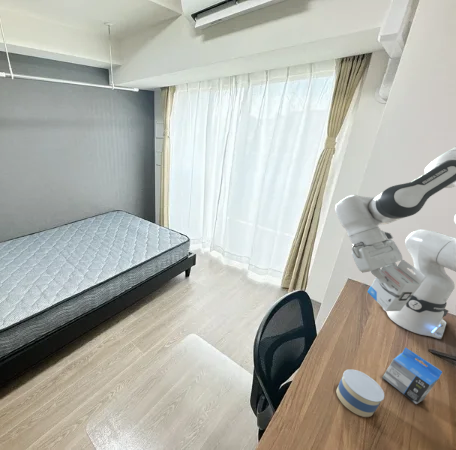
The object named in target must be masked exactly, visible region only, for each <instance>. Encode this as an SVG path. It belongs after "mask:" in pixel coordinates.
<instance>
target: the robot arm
mask: <svg viewBox="0 0 456 450" xmlns="http://www.w3.org/2000/svg"><path fill="white" fill-rule="evenodd" d="M454 187H456V146H454V147H453V148H450V149H449V150H447V151H445V152H444V153H442V154H440V155H439V156H437V157H436V158H434V159H433V160H432V161H431V162H430V163H428V164H427V165H426V167H425V168H424V173H423V174H422V175H420V176H419V177H417V178H415V179H413V180H412V181H410V182H405V183H400V184H396V185H392V186H390V187H388V188H386V189H384V190H383V191H382V192H381V193H380V194H378V195H376V196H362V195H358V194H351V195H348V196H346V197H345V198H343V199H341V200H340V201H338V203H336V204H335V207H334V211H335V214H336V217H337V219H338V221H339V223H340V224H341V226H342V228H343V229H345V231H346V233H347V237H348V239H349V240H350V243H351V245H352V247H351V256H352V258H353V261H354V263H355V265H356V267H357V269H358V270H359V272H361V273H362V274H363V273H369V272H370V273H371V274H372V275H373V276H374V277H375V279H376V278H378V280H379V282H380V283H386V282H388V281H389V280H388V279H387V277H386V276H384V275H383V274H382V273H381V269H382V267H384V266H398V264H397V263H398V262H401V260H403V255H402V252H401V250H400V248H399V246H398V245H397V243H396V242H395V240H393V239H394V237H393V235H392V233H390V232H387V231H384V230H383V229H382V230H381V228H380V226H383V225H389V224H391V223H394V222H397V221H399V220H401V219H405V218H408V217H411V216H414V215H416V214H418V213H419V212H420V211H421V210H422V209H423V207H424V206H425V204H426V202H427V201H428V200H429V199H430V198H431V197H432V196H434V195H435V194H437V193H438V192H440V191H442V190H443V189H452V188H454ZM453 222H454V223H455V225H456V214H455V215H454V217H453ZM404 246H405V249H406V250H407V252H408V253H409V254H410V256H411V259H412V262H413V263H412V264H413V267H414V268H415V269H417V270H418V271H419V272H421V273H422V274H424V275H425V276H426V277H425V279H424V280H423V281H422V283H421V284H420V287H419V288H418V289H417V290H416V292H415V293H414V294H413V295H412V297H411V298H410V299H409V301H408V302H407V303H406V304H405V306H404V307H403V308H402V309H401V311H386V310H385V309H384V308H383V307H382V310H383V311H384V312H385V313H386V314H387V317H388V318H389V319H390V320H391V321H392V322H393V323H395V324H396V325H398V326H399V327H401V328H402V329H404V330H407V331H409V332H412V333H414V334H416V335H420V336H426V337H427V336H428V337H431V338H435V339H438V340H442V338H443V336H444V333H445V330H446V326H447V321H446V320H444V317H446V316H447V315H448V313H449V310H448V309H446V307H447V301H448V300H449V298H450V296H451V295H452V294H453V292H454V290H455V282H454V280H453V279H452V278H451V277H450V276H449V275H448V273H447V272H446V270H445V268H446V269H448V270H451V271H453V272H456V237H453V236H450V235H448V234H444V233H442V232H438V231H433V230H428V229H417V230H414V231H412V232H410V233H409V234H408V235H407V236H406V237H405V240H404ZM412 273H413V274H415V272H413V271H412Z"/></svg>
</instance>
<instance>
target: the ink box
mask: <svg viewBox="0 0 456 450" xmlns="http://www.w3.org/2000/svg"><path fill="white" fill-rule="evenodd" d="M380 269H381V273H382V274H383V275H384V276H386V277H387V279H388V280H389V281H388V282H386V283H380V282H379V280H378V278H376V277H375V278H374V280H373V282H372V283H371V285H370V286H369V288H368V289H367V293H368V295H369V296H371V298H373V299H374V300H375V302H376V303H377V304H379V305H380V307H381V308H382V309H383V308H384V309H385V310H386V311H401V309H402V308H403V307H404V306H405V304H406V303H407V302H408V301H409V299H410V298H411V297H412V295H413V294H414V293H415V292H416V290H417V289H418V288H419V287H420V284H421V283H422V281H423V280H424V279H425V277H426V276H425V275H424V274H422V273H421V272H419V271H418V270H417V269H415V268H414V265H411V263H409V262H407V261H406V260H405V259H402V260H400V261H399V263H398V264H397V266H384V267H381V268H380ZM410 270H412V271H410ZM413 272H415V274H413ZM384 309H383V310H384ZM385 310H384V311H385ZM386 311H385V312H386Z"/></svg>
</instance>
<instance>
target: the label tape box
mask: <svg viewBox="0 0 456 450" xmlns="http://www.w3.org/2000/svg"><path fill="white" fill-rule="evenodd" d="M420 361H421V362H422V363H421V362H420ZM442 374H443V371H442V370H441V369H440V368H438V367H436V366H435V365H434V364H432V363H430V362H429V361H427V360H426V359H424V358H423V357H421V356H420V355H418V354H417V353H415V352H414V351H412V350H410V349H409V348H407V347H406V346H405V347H404V349H403V350H402V352H400V353H399V354H398V355H397V356H395V358H393V359H392V361H391V362H390V364H389V365H388V367H387V369H386V370H385V372H384V373H383V376H382V379H383V380H384V381H386V382H387V383H389V384H390V385H391V386H392V387H394V388H395V389H396V390H397V391H399V392H400V393H401V394H402V395H404V396H405V397H406V398H408V399H409V400H410V401H411V402H413V403H414V404H415V405H418V404H419V403H420V402H423V401H424V400H425V398H427V396H428V394H429V393H430V392H431V391H432V389H433V387H434V386H435V385H436V383H437V382H438V381H439V379H440V377H441V375H442Z"/></svg>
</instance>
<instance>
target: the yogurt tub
mask: <svg viewBox="0 0 456 450" xmlns="http://www.w3.org/2000/svg"><path fill="white" fill-rule="evenodd" d="M335 391H336V396H337V398H338V400H339V401H340V403H341V404H342V405H343V406H344V407H345V408H346V409H348V411H350V412H352V413H353V414H355V415H357V416H359V417H364V418H369V417H372V416H373V415H374V413H375V412H376V411H377V409H378V408H379V406H380V404H381V402H382V401H383V400H384V399H385V392H384V390H383V388H382V387H381V385H380V384H379V383H378V382H377V381H376V380H374V379H373V378H372V377H371V376H369V375H368V374H366V373H365V372H363V371H360V370H358V369H351V368H350V369H349V368H348V369H346V370H344V371H343V374H342V376H341V378H340V381H339V382H338V386H337V388H336V390H335Z"/></svg>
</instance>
